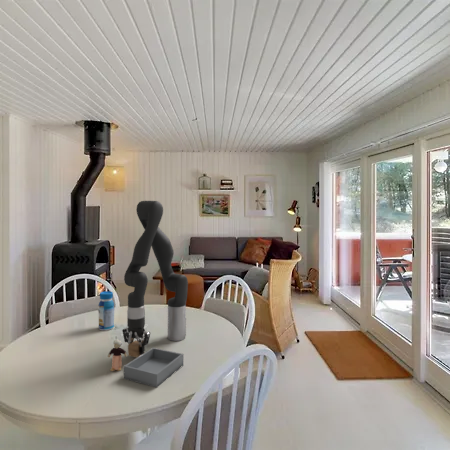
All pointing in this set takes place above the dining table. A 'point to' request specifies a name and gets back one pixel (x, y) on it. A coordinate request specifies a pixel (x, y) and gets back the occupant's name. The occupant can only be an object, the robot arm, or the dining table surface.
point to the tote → (153, 367)
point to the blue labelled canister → (106, 311)
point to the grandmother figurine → (117, 355)
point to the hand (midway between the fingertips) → (136, 352)
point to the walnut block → (134, 349)
